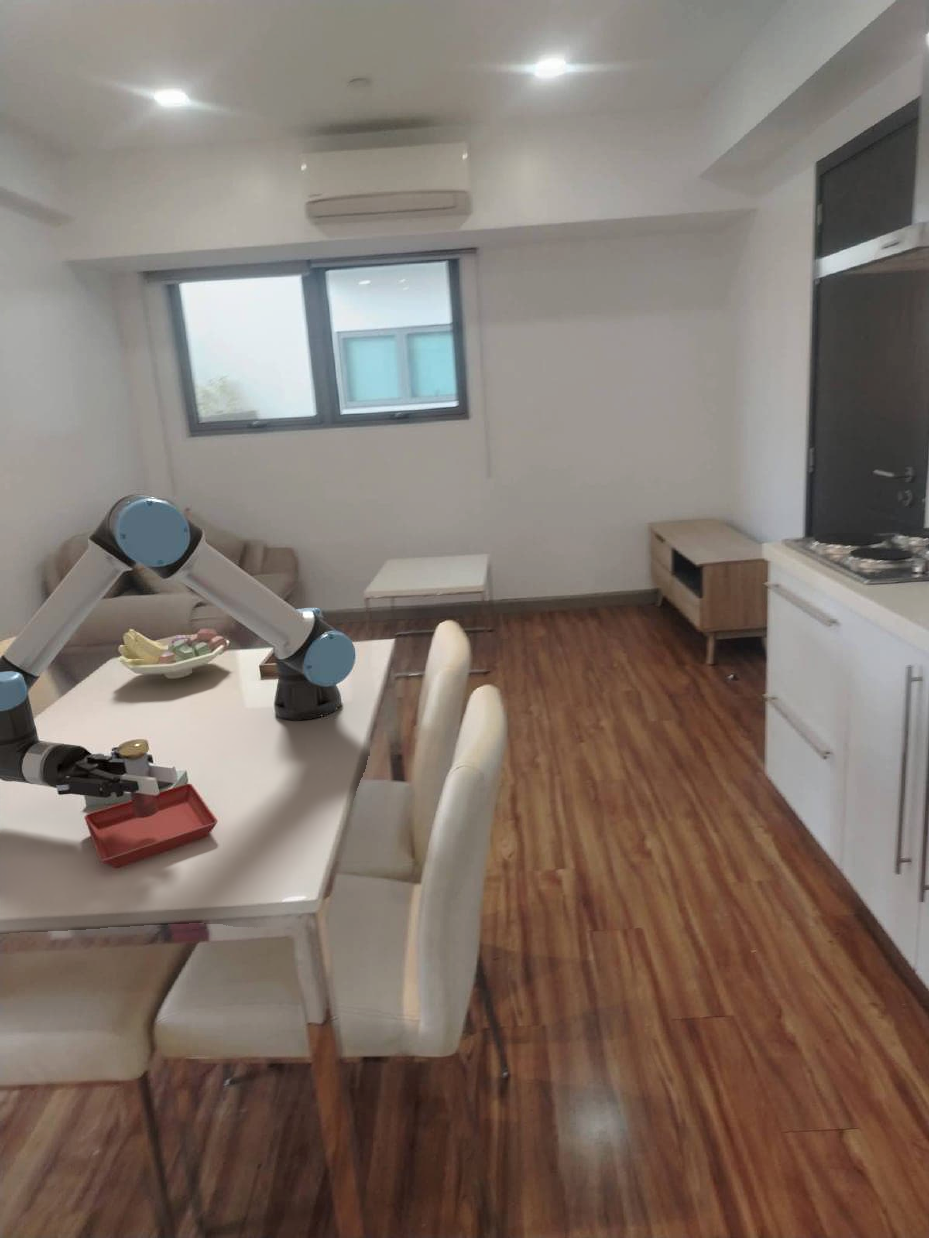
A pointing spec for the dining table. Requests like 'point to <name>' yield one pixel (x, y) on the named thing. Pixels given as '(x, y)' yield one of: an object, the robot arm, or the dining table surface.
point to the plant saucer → (150, 826)
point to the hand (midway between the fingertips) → (165, 780)
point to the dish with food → (170, 652)
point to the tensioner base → (126, 797)
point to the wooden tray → (268, 665)
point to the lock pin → (138, 765)
